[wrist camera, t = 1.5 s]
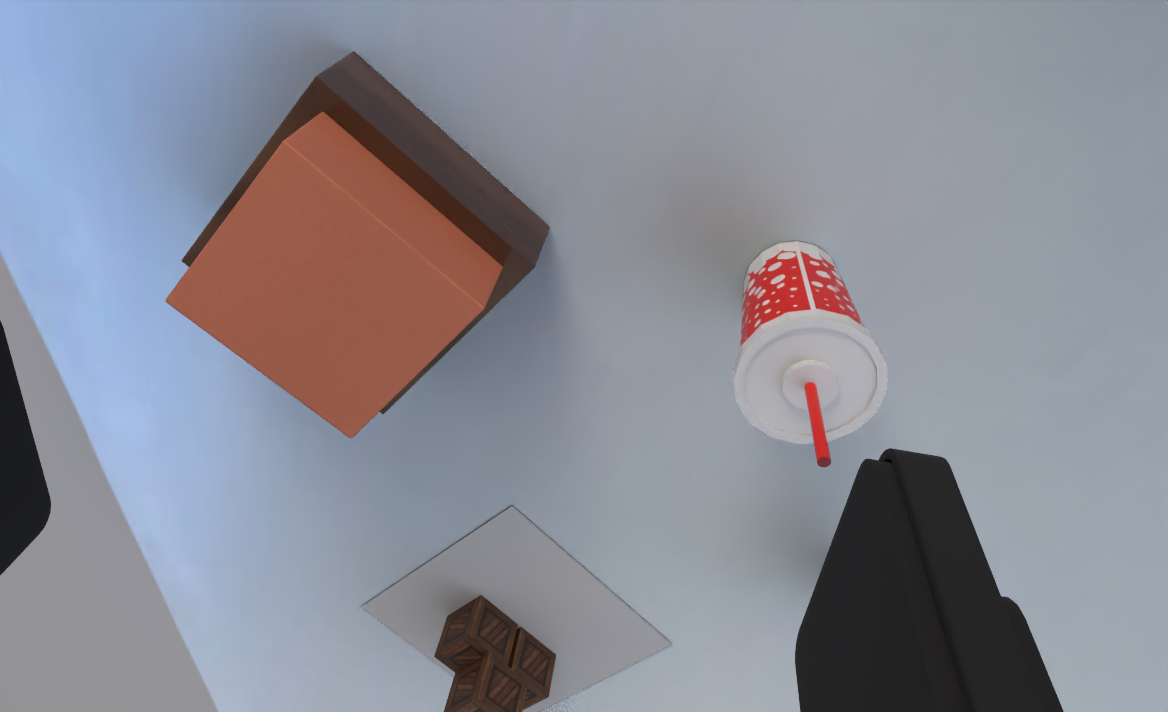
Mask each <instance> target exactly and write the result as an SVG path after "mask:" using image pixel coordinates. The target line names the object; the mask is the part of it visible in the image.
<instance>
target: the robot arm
mask: <svg viewBox="0 0 1168 712" xmlns="http://www.w3.org/2000/svg"><path fill="white" fill-rule="evenodd" d="M50 509H51V501H50V496H49V492H48V488H47V485H46V481H45V478H44V475H43V470H42V467H41V463H40V459H39V456H38V452H37V449H36V445H35V441H34V438H33V434H32V431H31V427H30V423H29V419H28V416H27V413H26V409H25V405H24V401H23V398H22V394H21V390H20V387H19V383H18V379H17V376H16V372H15V369H14V365H13V361H12V357H11V354H10V350H9V347H8V343H7V339H6V336H5V332H4V328H3V326H2V323H1V321H0V575H1V574H2V573H3V572H4V571H5V570H6V569H7V568H8V567H9V566H10V565H11V563H12V562H13V561H14V560H15V559H16V558H17V557H18V556H19V555H20V554H21V553H22V552H23V551H24V550H25V549H26V547H28V545H29V544H30V543H31V542H32V541H33V540H34V539H35V538H36V537H37V536H38V535H39V534H40V532H41V531H42V530H43V528H44V527H45V525H46V523H47V521H48V518H49V515H50ZM795 665H796V675H797V684H798V693H799V702H800V711H801V712H1063V709H1062V707H1061V704H1060V702H1059V699H1058V697H1057V694H1056V692H1055V690H1054V687H1053V685H1052V682H1051V680H1050V677H1049V675H1048V673H1047V670H1046V668H1045V665H1044V663H1043V660H1042V658H1041V656H1040V653H1039V651H1038V648H1037V646H1036V643H1035V641H1034V638H1033V636H1032V634H1031V631H1030V629H1029V626H1028V624H1027V621H1026V619H1025V617H1024V615H1023V614H1022V612H1021V610H1020V608H1019V607H1018V605H1017V604H1016V603H1015V602H1013V601H1012V600H1011V599H1010V598H1008V597H1002V596H1001V595H1000V593H999V590H998V588H997V585H996V582H995V580H994V577H993V575H992V572H991V570H990V567H989V565H988V562H987V559H986V557H985V554H984V552H983V549H982V547H981V544H980V542H979V539H978V536H977V534H976V531H975V529H974V526H973V524H972V521H971V518H970V516H969V513H968V511H967V508H966V506H965V503H964V501H963V498H962V495H961V493H960V490H959V488H958V485H957V483H956V480H955V478H954V475H953V472H952V470H951V467H950V465H949V463H948V462H947V460H946V459H944V458H942V457H939V456H933V455H927V454H921V453H915V452H909V451H903V450H897V449H891V448H890V449H887V450H885V451H884V452H883V454H882V455H881V457H880V459H879V461H878V460H872V459H865V460H864V461H863V462H862V464H861V466H860V468H859V470H858V473H857V476H856V478H855V481H854V484H853V486H852V489H851V492H850V494H849V497H848V500H847V503H846V505H845V508H844V511H843V513H842V516H841V519H840V521H839V524H838V527H837V529H836V532H835V535H834V538H833V540H832V543H831V546H830V548H829V551H828V554H827V556H826V559H825V562H824V565H823V567H822V570H821V573H820V575H819V578H818V581H817V583H816V586H815V589H814V592H813V594H812V597H811V600H810V602H809V605H808V608H807V610H806V613H805V616H804V618H803V621H802V624H801V627H800V629H799V633H798V637H797V642H796V651H795Z"/></svg>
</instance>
